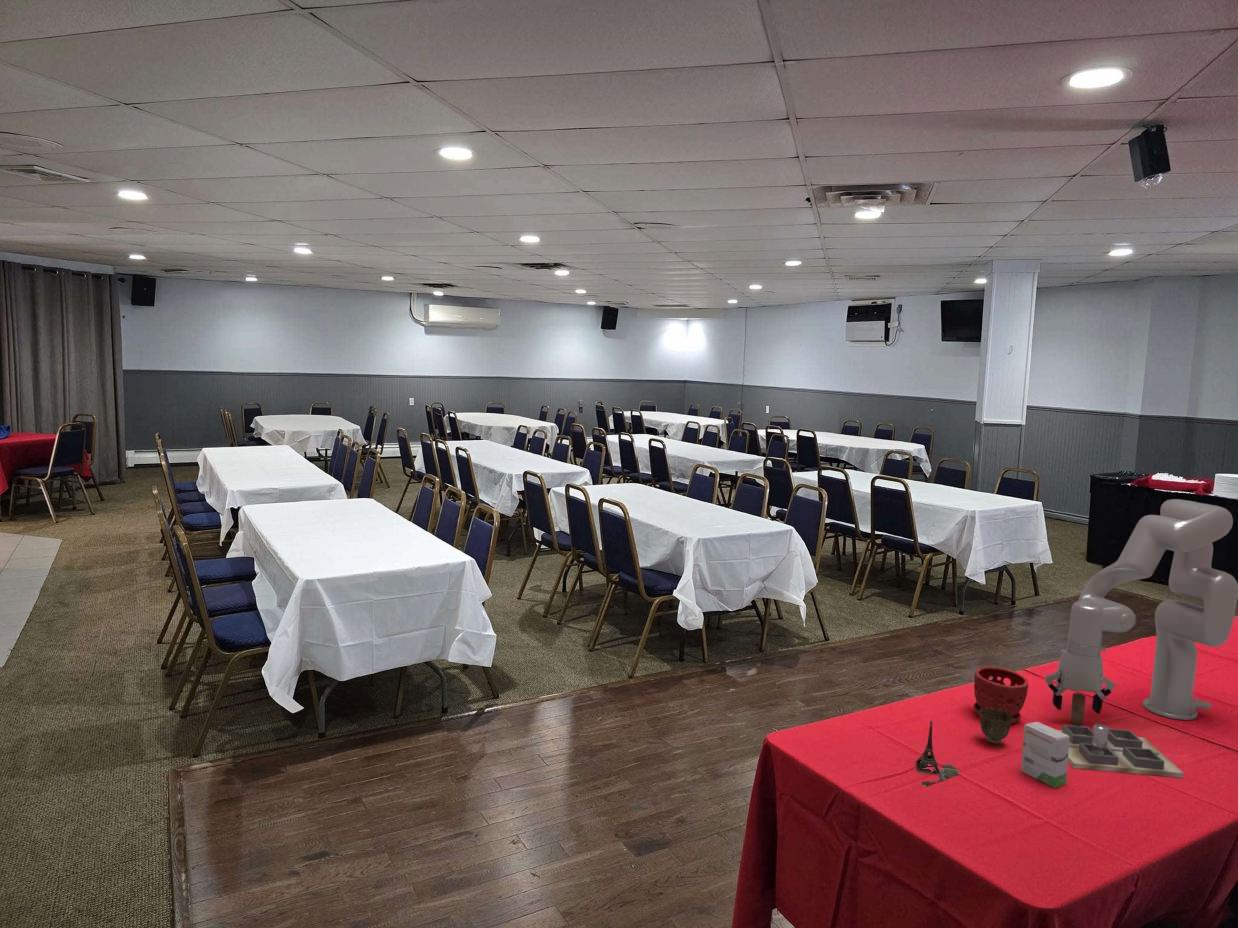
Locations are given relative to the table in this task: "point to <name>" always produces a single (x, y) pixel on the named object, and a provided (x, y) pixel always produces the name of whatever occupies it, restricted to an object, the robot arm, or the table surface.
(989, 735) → the cup
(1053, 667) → the table surface
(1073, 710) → the walnut pin
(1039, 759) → the ink box
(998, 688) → the plant pot
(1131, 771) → the board
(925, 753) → the eiffel tower figurine
